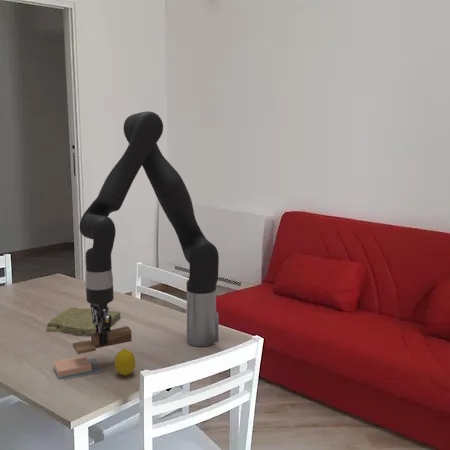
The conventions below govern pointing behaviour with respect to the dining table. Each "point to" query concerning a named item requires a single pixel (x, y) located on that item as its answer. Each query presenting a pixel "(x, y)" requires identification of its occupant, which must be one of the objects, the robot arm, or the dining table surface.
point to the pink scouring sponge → (72, 366)
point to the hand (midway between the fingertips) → (101, 342)
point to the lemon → (125, 362)
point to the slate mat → (95, 369)
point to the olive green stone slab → (77, 322)
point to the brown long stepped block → (113, 338)
